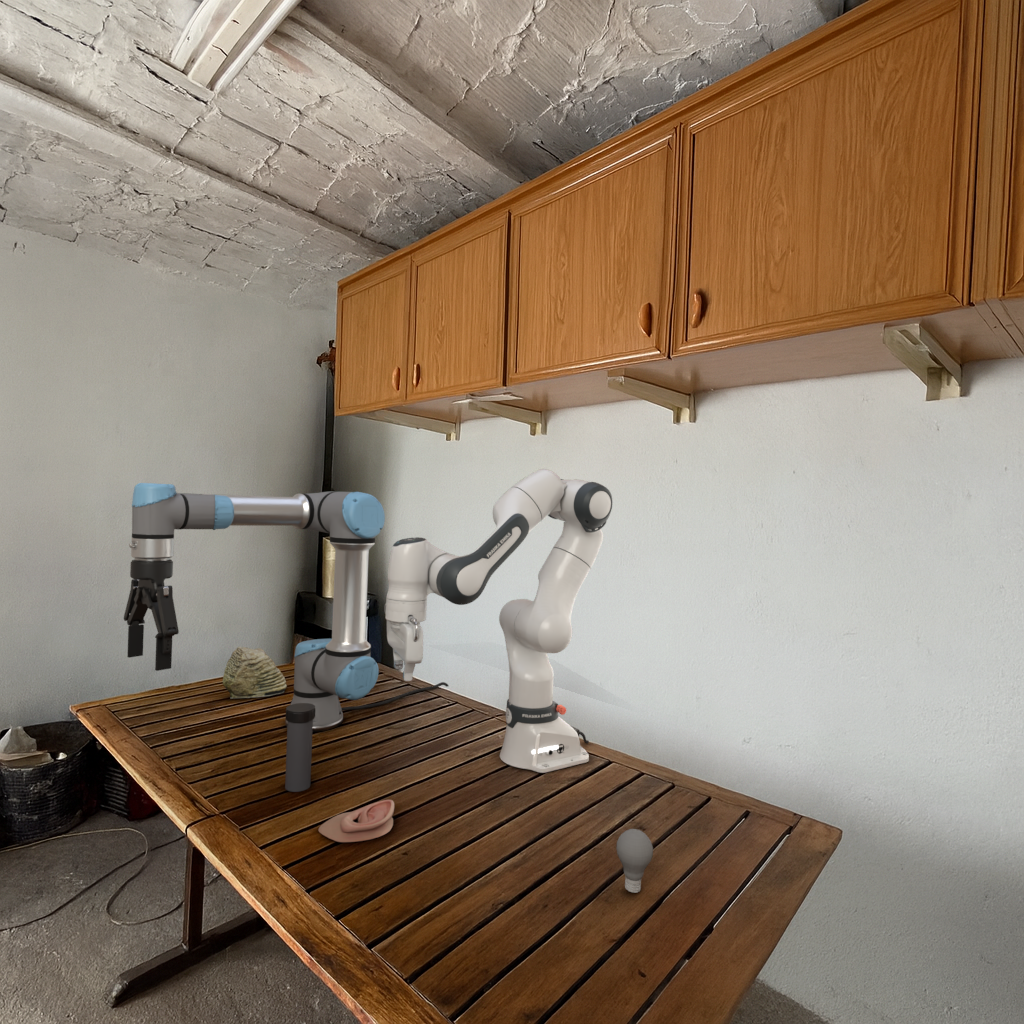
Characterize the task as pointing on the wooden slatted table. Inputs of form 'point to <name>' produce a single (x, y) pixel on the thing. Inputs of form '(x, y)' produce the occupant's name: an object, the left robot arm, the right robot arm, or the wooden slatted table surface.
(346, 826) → the anatomical model
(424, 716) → the wooden slatted table surface
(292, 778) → the jar
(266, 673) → the fossil
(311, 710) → the lid
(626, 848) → the light bulb
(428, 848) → the wooden slatted table surface
